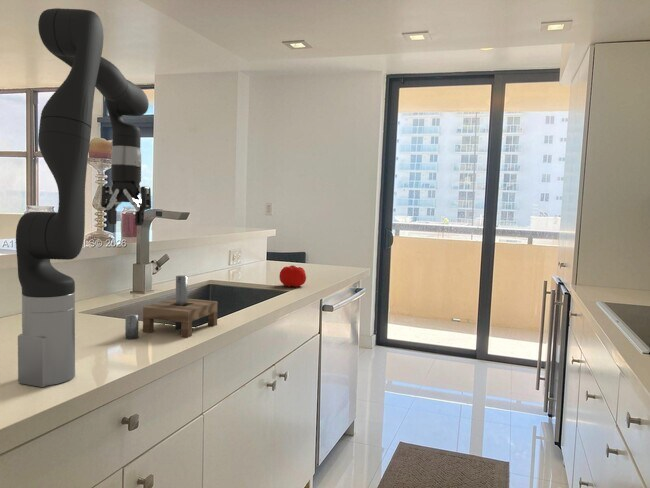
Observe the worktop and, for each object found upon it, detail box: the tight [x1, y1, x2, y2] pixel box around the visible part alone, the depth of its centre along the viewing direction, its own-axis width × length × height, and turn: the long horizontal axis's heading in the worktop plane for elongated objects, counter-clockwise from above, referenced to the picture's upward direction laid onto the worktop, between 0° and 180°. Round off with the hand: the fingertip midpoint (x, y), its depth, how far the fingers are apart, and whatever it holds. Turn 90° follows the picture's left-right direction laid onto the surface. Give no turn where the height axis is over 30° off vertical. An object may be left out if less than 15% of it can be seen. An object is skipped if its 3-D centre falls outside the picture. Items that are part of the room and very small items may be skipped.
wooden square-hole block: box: [142, 297, 219, 338], centre depth 146 cm, size 16×14×7 cm
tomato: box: [278, 264, 307, 288], centre depth 227 cm, size 11×12×9 cm
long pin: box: [174, 275, 189, 330], centre depth 145 cm, size 3×3×15 cm
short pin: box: [124, 313, 140, 340], centre depth 134 cm, size 3×3×6 cm
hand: (125, 224), depth 138 cm, fingers open, 8 cm apart
